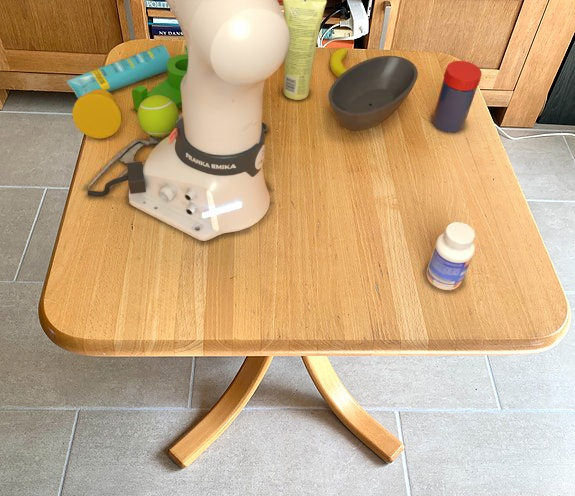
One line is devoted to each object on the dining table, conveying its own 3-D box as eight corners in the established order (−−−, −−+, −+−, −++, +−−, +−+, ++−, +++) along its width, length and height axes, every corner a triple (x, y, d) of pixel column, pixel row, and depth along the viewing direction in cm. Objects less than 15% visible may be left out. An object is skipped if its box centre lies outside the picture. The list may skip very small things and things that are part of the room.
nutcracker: (84, 189, 99) (110, 200, 98) (83, 185, 98) (109, 197, 97) (140, 133, 109) (165, 142, 108) (140, 129, 108) (164, 139, 107)
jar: (429, 127, 114) (443, 77, 106) (435, 109, 118) (449, 60, 110) (461, 136, 113) (478, 86, 105) (466, 117, 117) (482, 68, 108)
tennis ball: (127, 100, 101) (146, 89, 107) (133, 141, 105) (151, 127, 111) (165, 103, 100) (183, 91, 106) (170, 144, 103) (187, 130, 109)
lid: (440, 85, 107) (443, 75, 105) (446, 67, 111) (449, 57, 109) (475, 94, 106) (479, 84, 104) (480, 75, 110) (484, 65, 108)
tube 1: (172, 52, 115) (74, 89, 110) (178, 75, 119) (83, 112, 114) (157, 37, 120) (63, 72, 115) (163, 60, 124) (72, 94, 118)
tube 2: (300, 81, 121) (308, -15, 107) (316, 94, 119) (327, -2, 104) (277, 90, 119) (282, -7, 104) (293, 104, 116) (300, 6, 102)
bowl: (426, 99, 119) (433, 71, 115) (361, 154, 108) (367, 125, 103) (375, 74, 124) (380, 46, 119) (307, 124, 112) (310, 95, 108)
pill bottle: (461, 294, 89) (481, 251, 82) (424, 287, 90) (440, 243, 82) (462, 266, 93) (481, 222, 85) (426, 259, 93) (442, 214, 86)
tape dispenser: (184, 71, 121) (182, 50, 118) (213, 83, 119) (212, 62, 116) (133, 108, 113) (129, 87, 109) (163, 123, 110) (161, 101, 107)
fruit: (330, 82, 122) (355, 84, 122) (331, 73, 120) (357, 74, 120) (327, 54, 128) (351, 55, 129) (329, 45, 127) (353, 46, 127)
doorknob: (120, 96, 103) (70, 92, 101) (121, 140, 107) (73, 137, 106) (124, 80, 109) (77, 77, 108) (125, 122, 113) (79, 120, 112)
